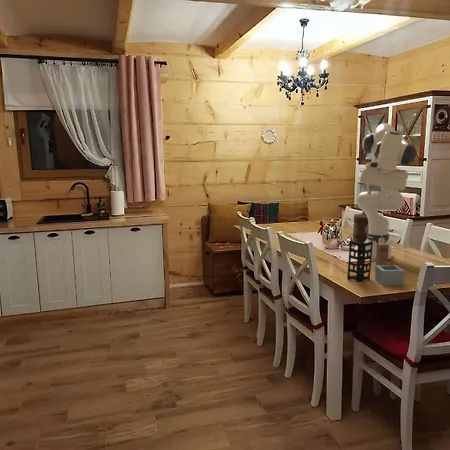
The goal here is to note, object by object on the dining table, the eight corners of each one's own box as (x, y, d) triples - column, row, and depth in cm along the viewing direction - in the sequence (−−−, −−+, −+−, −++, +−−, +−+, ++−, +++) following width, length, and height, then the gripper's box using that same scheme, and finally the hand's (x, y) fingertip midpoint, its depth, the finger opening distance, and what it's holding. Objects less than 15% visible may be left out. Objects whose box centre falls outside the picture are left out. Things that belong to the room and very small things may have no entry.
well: (374, 279, 208) (375, 265, 207) (395, 278, 208) (395, 264, 207) (382, 285, 198) (382, 271, 197) (403, 284, 198) (404, 270, 197)
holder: (367, 276, 212) (369, 238, 207) (373, 282, 205) (375, 243, 199) (345, 277, 212) (347, 239, 206) (350, 283, 205) (352, 244, 199)
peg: (375, 273, 218) (376, 242, 215) (384, 272, 218) (385, 242, 215) (378, 275, 214) (379, 244, 211) (387, 275, 214) (388, 244, 211)
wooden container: (370, 244, 284) (372, 211, 280) (349, 241, 293) (350, 210, 289) (378, 240, 296) (379, 209, 292) (357, 237, 305) (358, 207, 301)
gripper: (407, 171, 194) (400, 200, 196) (362, 163, 197) (356, 192, 199) (411, 170, 188) (404, 200, 190) (364, 162, 191) (358, 192, 193)
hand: (379, 196), depth 194 cm, fingers open, 8 cm apart
